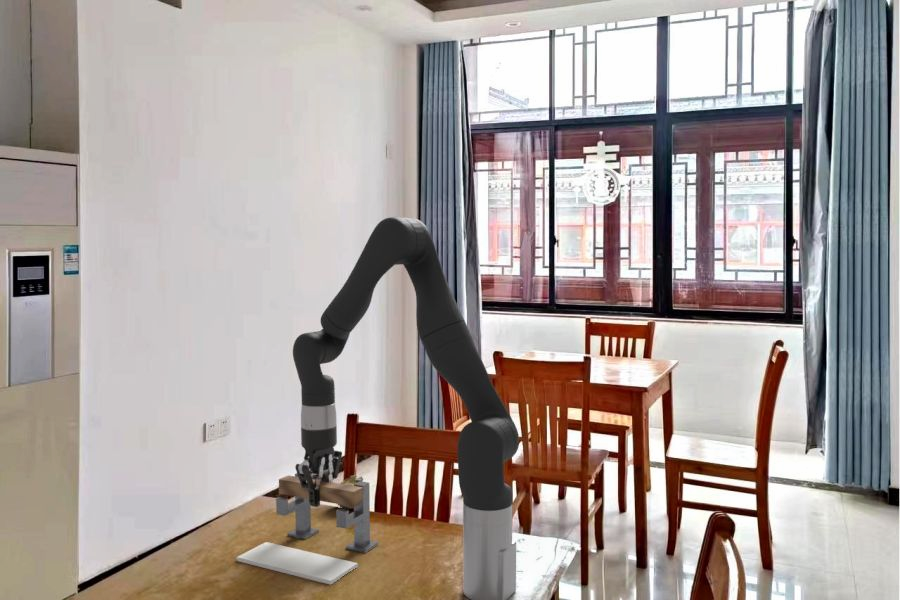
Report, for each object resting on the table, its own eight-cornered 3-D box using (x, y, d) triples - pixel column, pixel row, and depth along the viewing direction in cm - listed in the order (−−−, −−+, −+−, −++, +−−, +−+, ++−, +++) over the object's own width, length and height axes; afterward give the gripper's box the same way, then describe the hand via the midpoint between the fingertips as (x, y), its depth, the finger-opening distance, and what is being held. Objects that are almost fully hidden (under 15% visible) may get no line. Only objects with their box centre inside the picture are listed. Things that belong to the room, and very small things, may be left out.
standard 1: (319, 532, 169) (318, 471, 168) (290, 547, 160) (289, 484, 160) (301, 528, 172) (300, 468, 171) (272, 543, 163) (271, 480, 162)
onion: (333, 502, 189) (333, 471, 189) (365, 502, 190) (364, 471, 189) (330, 513, 182) (330, 481, 181) (363, 512, 182) (363, 480, 182)
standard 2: (378, 544, 162) (377, 481, 161) (351, 562, 153) (350, 495, 152) (359, 540, 164) (358, 478, 163) (331, 557, 155) (331, 491, 154)
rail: (363, 502, 157) (362, 487, 157) (354, 506, 154) (354, 491, 154) (288, 489, 166) (288, 475, 166) (279, 493, 163) (278, 479, 163)
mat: (357, 567, 151) (357, 563, 151) (331, 584, 143) (331, 580, 143) (266, 545, 162) (266, 541, 162) (236, 560, 154) (236, 557, 154)
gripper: (312, 433, 151) (314, 516, 152) (352, 419, 164) (353, 496, 165) (283, 429, 155) (285, 510, 156) (324, 416, 167) (326, 491, 168)
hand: (320, 502), depth 160 cm, fingers closed on rail, 3 cm apart
